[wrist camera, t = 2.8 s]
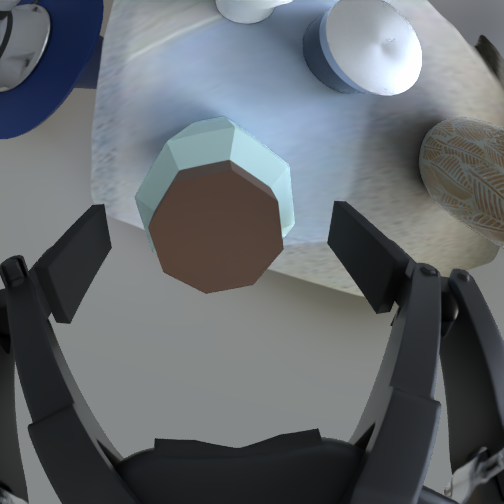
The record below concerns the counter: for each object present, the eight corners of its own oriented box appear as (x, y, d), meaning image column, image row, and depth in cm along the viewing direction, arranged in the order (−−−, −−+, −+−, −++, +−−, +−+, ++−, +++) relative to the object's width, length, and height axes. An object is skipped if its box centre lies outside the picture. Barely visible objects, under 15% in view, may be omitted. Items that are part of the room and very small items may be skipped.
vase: (462, 203, 43) (558, 276, 20) (403, 202, 42) (519, 297, 19) (475, 122, 35) (588, 169, 12) (414, 102, 33) (563, 143, 10)
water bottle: (205, 201, 38) (197, 340, 16) (163, 143, 33) (78, 217, 12) (267, 162, 36) (346, 259, 15) (227, 100, 31) (253, 87, 10)
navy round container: (302, 4, 25) (326, -18, 17) (384, 27, 27) (421, 17, 19) (298, 86, 31) (323, 82, 24) (381, 102, 33) (419, 107, 25)
